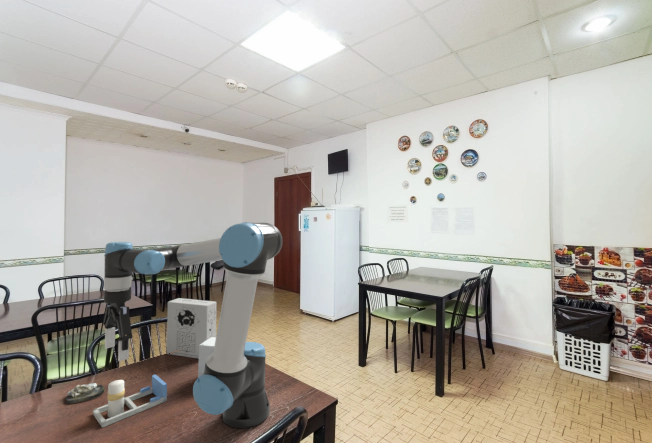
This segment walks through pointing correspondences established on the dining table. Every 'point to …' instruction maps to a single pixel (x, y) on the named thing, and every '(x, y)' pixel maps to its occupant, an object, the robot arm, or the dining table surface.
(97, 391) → the grey lumpy oval piece
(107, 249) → the robot arm
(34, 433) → the dining table surface
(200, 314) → the cereal box
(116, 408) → the white cylinder
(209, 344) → the supplement box
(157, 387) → the grey slotted tray
